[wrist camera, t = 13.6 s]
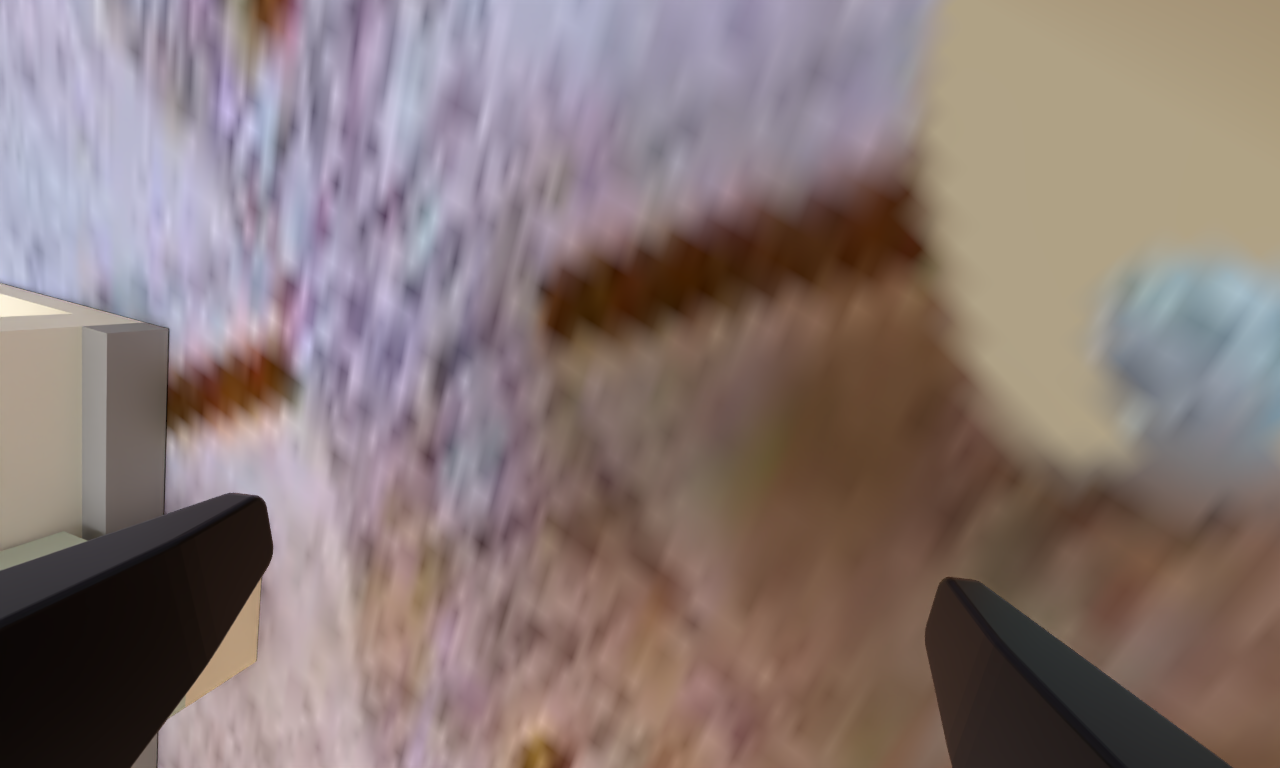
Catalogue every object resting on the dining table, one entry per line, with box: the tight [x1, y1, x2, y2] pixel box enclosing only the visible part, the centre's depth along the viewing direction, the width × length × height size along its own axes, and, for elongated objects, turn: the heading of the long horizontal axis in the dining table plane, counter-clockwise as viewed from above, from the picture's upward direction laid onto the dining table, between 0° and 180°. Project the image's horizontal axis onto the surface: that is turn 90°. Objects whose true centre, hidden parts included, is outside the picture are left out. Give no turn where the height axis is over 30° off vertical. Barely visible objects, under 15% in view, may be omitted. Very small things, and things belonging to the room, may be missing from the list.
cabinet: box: [0, 531, 261, 718], centre depth 22 cm, size 6×5×10 cm
